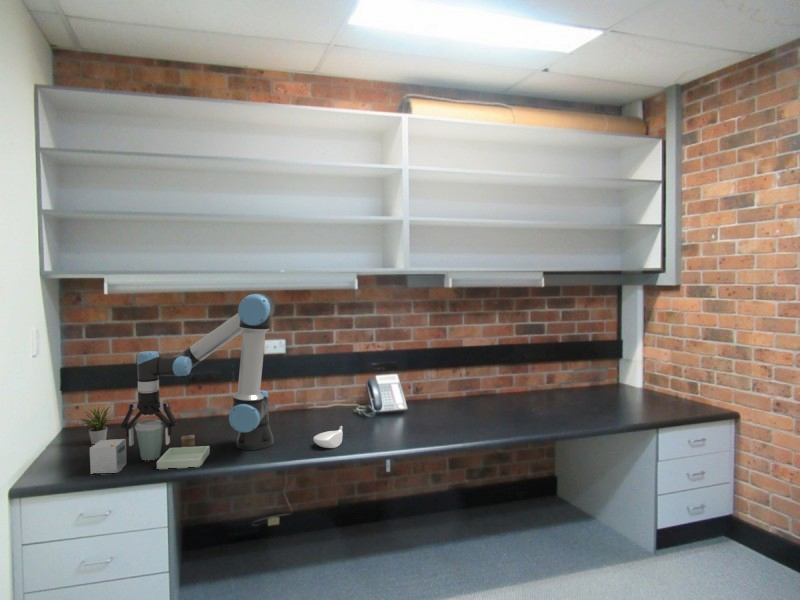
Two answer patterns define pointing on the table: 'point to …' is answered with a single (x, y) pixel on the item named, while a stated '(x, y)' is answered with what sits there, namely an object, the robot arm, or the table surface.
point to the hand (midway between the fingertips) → (149, 444)
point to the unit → (108, 456)
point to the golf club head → (329, 438)
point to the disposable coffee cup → (149, 438)
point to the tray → (183, 457)
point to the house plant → (97, 425)
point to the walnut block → (188, 441)
